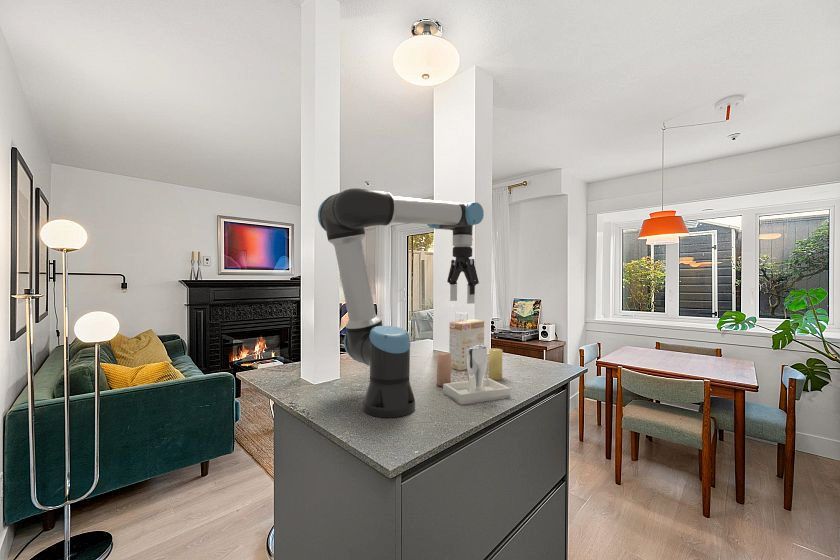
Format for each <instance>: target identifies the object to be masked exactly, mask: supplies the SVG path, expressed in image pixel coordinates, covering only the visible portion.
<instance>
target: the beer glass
mask: <svg viewBox="0 0 840 560" xmlns="http://www.w3.org/2000/svg"><path fill="white" fill-rule="evenodd" d="M466 368H467V369H466V373H467V374H466V375H467V381H468V388H467V393H469V392H477V391H485V379H486V374H487V368H488V347H487V346H485V345H484V346H480V345H470V346H467V350H466Z"/></svg>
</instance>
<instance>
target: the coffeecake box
mask: <svg viewBox="0 0 840 560" xmlns="http://www.w3.org/2000/svg"><path fill="white" fill-rule="evenodd" d="M448 342H449V352H448V353H451V369H453V370H457V371H464V370H467V368H466V350H467V346H470V345H480V346H485V320H481V319H475V318H474V319H463V320H455V321H449V341H448Z"/></svg>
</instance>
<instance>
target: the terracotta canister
mask: <svg viewBox="0 0 840 560" xmlns="http://www.w3.org/2000/svg"><path fill="white" fill-rule="evenodd" d="M436 356H437V357H436V358H437V359H436V381H435V382H436V386H438V387H443V384H446V383H451V382H452V381H451V376H452V372H451V371H452V368H451V353H449V352H446V351H445V352H437V353H436Z"/></svg>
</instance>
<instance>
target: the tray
mask: <svg viewBox="0 0 840 560" xmlns="http://www.w3.org/2000/svg"><path fill="white" fill-rule="evenodd" d="M467 388H468V380H466V381H465V380H464V381H457V382H454V381H453V382H450V383H446V384H443V386H442V393H443V394H444V395H446V396H448V397H449V398H451V399H452V400H453V401H454V402H456V403H458V404H459V405H468V404H474V403H475V404H476V403H481V402H482V403H483V402H488V401H494V400H495V401H496V400H502V399H507V398H508V399H509V398H511V388H510V387H508V386H506V385H504V384H502V383H500V382H498V381H497V380H492V379H490V378H489V377H488V378H485V391H477V392H469V393H467Z"/></svg>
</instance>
